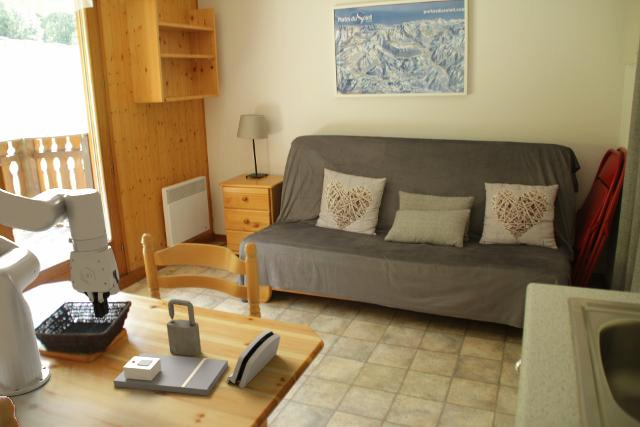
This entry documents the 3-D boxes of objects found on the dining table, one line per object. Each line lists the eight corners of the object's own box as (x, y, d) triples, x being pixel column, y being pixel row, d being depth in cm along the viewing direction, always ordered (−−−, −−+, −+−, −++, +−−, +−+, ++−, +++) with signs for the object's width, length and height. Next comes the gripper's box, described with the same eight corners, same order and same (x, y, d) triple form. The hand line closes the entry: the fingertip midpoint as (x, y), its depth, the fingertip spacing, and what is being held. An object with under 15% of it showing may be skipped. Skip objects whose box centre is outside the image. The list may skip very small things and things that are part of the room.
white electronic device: (124, 378, 133) (123, 365, 132) (135, 367, 138) (134, 354, 137) (151, 380, 131) (149, 367, 130) (161, 369, 136) (159, 357, 135)
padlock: (176, 345, 151) (170, 295, 147) (202, 349, 148) (197, 298, 144) (168, 353, 147) (161, 301, 143) (195, 357, 145) (189, 304, 141)
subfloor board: (114, 386, 133) (113, 380, 132) (142, 358, 145) (141, 352, 145) (207, 395, 128) (206, 389, 127) (227, 365, 140) (227, 359, 140)
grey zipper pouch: (259, 350, 147) (268, 320, 143) (275, 358, 145) (284, 328, 142) (225, 383, 132) (234, 351, 128) (241, 393, 131) (251, 360, 127)
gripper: (51, 247, 125) (64, 320, 130) (110, 249, 122) (121, 324, 127) (72, 236, 133) (84, 307, 137) (128, 238, 129) (138, 310, 134)
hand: (102, 315), depth 132 cm, fingers closed
